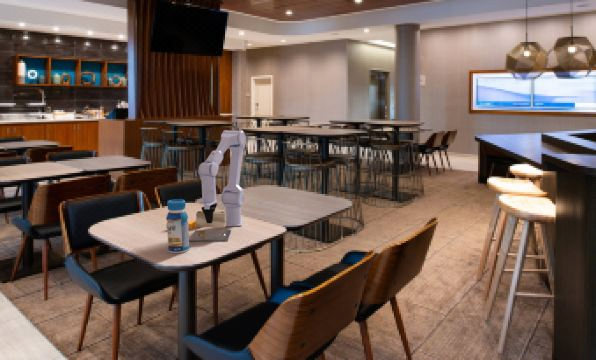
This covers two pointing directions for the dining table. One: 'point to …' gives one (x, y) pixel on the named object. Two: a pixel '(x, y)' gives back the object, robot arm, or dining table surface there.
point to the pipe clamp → (191, 224)
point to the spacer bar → (217, 221)
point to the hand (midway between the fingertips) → (210, 221)
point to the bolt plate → (210, 235)
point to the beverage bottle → (177, 226)
